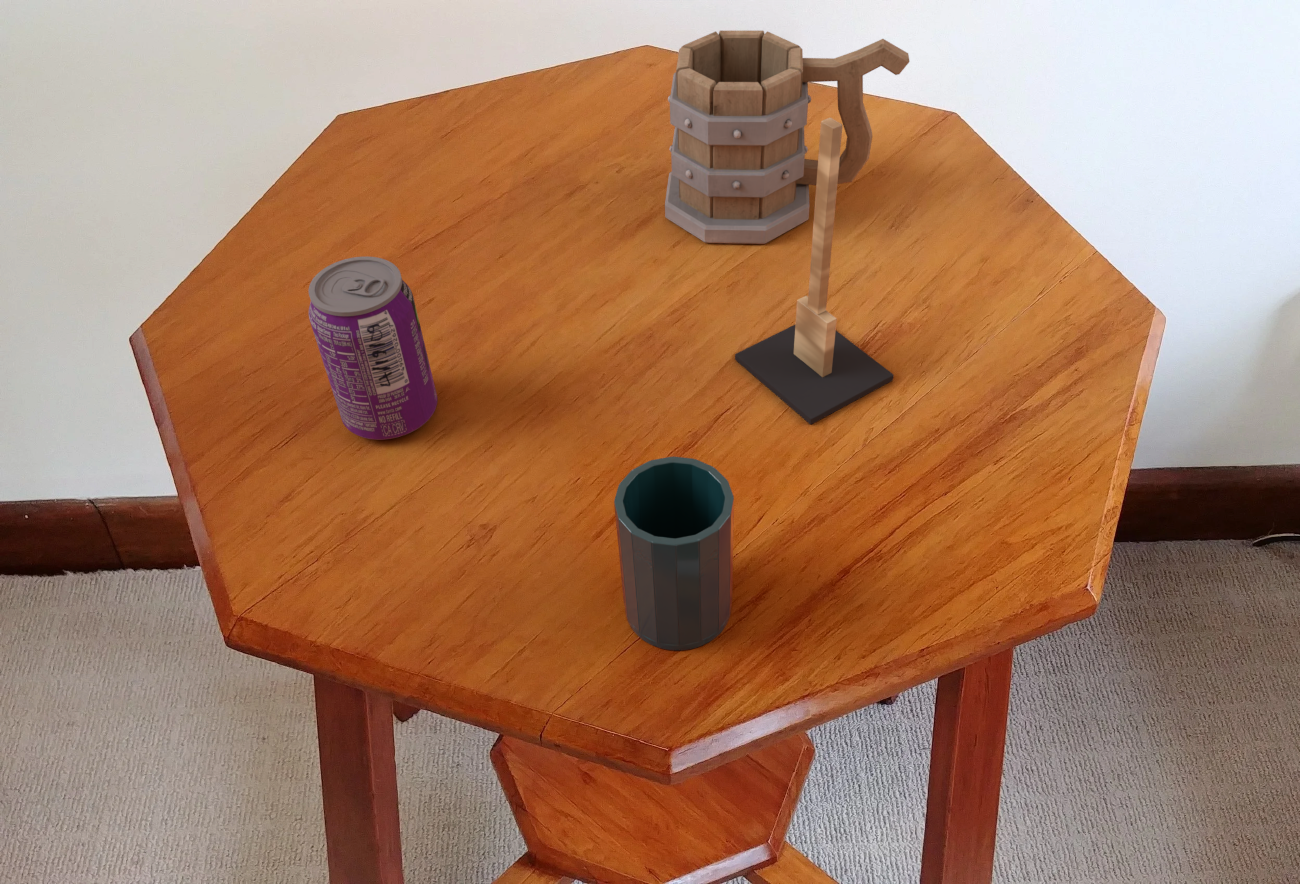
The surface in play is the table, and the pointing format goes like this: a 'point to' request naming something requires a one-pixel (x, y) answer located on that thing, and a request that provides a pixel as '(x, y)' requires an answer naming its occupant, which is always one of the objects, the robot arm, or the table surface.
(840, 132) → the wooden stir stick
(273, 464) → the table surface
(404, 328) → the beverage can
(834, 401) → the mat
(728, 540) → the cup
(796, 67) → the tankard
